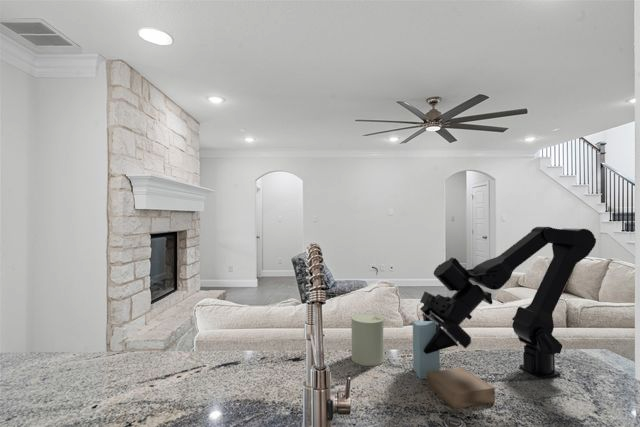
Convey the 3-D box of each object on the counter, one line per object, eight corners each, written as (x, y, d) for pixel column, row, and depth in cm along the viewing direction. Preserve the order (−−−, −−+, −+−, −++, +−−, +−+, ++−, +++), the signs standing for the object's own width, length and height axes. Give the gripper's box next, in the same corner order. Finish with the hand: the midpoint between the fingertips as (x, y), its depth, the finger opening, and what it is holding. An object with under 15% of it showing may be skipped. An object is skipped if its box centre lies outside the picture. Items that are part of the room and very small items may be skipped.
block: (432, 369, 84) (431, 321, 84) (439, 378, 79) (439, 327, 79) (413, 369, 84) (412, 321, 84) (419, 378, 79) (419, 327, 79)
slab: (463, 379, 78) (463, 367, 78) (494, 402, 68) (494, 387, 68) (426, 384, 76) (426, 372, 76) (454, 408, 66) (453, 394, 66)
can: (384, 367, 85) (383, 322, 85) (349, 364, 87) (349, 320, 87) (384, 353, 94) (383, 312, 94) (352, 351, 96) (352, 310, 96)
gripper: (426, 275, 91) (388, 314, 91) (456, 288, 73) (409, 338, 72) (454, 302, 91) (416, 342, 91) (491, 323, 73) (444, 373, 72)
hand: (420, 347), depth 81 cm, fingers open, 6 cm apart
